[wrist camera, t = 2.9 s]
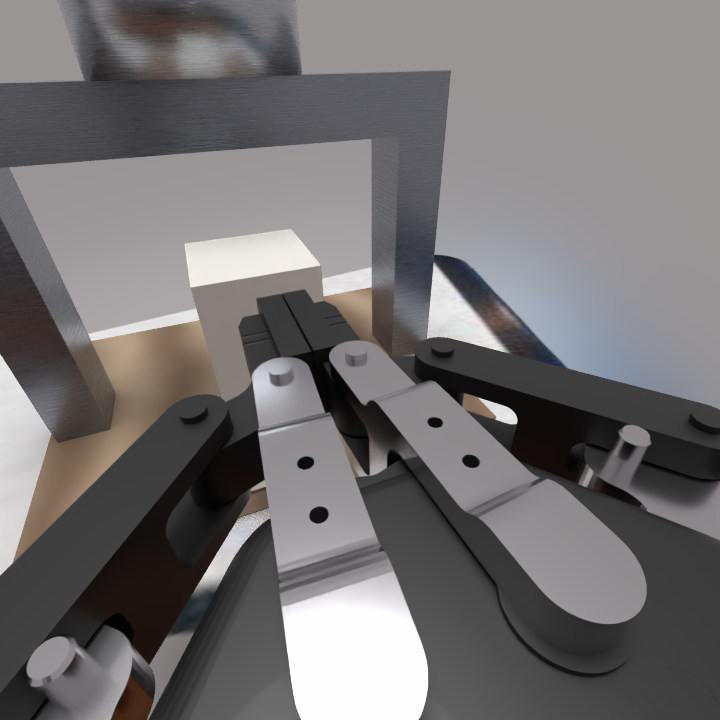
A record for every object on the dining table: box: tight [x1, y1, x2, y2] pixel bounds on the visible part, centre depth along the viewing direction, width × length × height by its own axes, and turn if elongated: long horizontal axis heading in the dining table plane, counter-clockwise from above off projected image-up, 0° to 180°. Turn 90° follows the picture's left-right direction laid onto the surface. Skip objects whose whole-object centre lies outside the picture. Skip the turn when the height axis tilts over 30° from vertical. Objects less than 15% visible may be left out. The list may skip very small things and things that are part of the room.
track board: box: [13, 288, 496, 563], centre depth 31 cm, size 27×21×2 cm
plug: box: [185, 229, 324, 491], centre depth 22 cm, size 5×6×12 cm
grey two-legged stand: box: [0, 0, 451, 443], centre depth 24 cm, size 26×10×24 cm, turn 112°
